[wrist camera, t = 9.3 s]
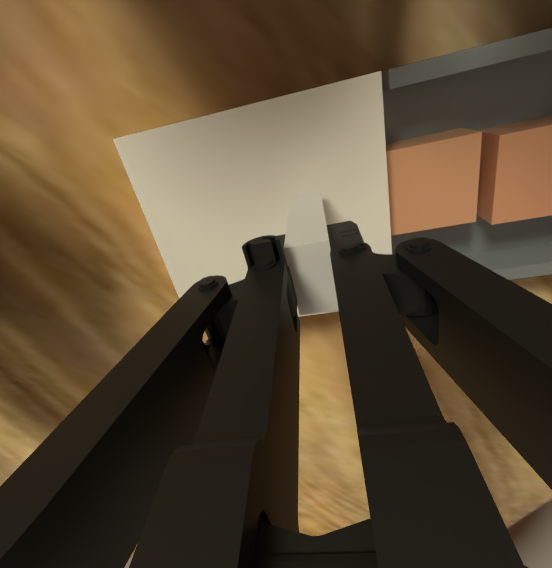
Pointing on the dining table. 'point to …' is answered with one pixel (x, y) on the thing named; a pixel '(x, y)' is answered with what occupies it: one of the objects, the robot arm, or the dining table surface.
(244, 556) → the robot arm
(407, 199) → the tile
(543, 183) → the tile
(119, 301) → the dining table surface
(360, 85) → the board
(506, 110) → the tray
